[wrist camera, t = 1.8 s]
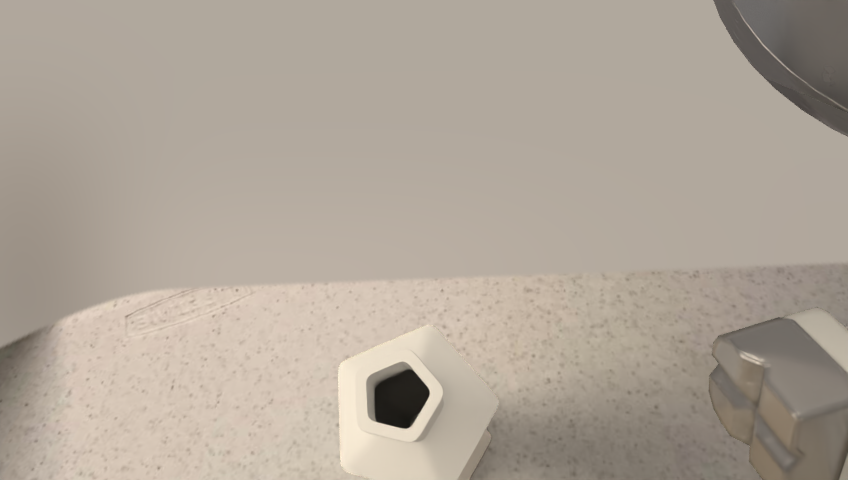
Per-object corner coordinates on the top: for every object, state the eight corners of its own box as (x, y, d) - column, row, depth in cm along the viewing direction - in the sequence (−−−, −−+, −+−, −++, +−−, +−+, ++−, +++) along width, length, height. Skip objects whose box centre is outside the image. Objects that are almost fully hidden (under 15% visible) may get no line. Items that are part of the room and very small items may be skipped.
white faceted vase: (505, 491, 28) (510, 491, 14) (405, 499, 28) (313, 507, 15) (493, 384, 30) (487, 290, 16) (398, 393, 30) (311, 308, 16)
